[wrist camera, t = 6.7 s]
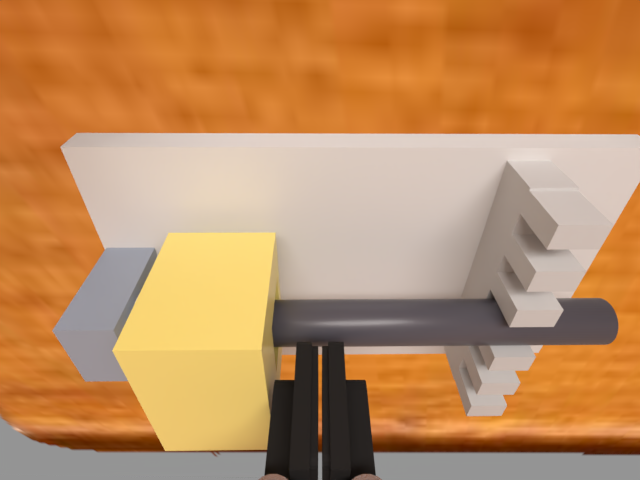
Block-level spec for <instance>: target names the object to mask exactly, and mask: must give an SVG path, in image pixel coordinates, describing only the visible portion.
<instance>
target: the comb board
mask: <svg viewBox="0 0 640 480" xmlns="http://www.w3.org/2000/svg"><path fill="white" fill-rule="evenodd" d="M60 148H61V150H62V152H63V154H64V157H65V159H66V161H67V164H68V166H69V168H70V171H71V173H72V175H73V178H74V180H75V182H76V184H77V187H78V189H79V191H80V194H81V196H82V198H83V201H84V203H85V205H86V208H87V210H88V212H89V214H90V217H91V219H92V221H93V224H94V226H95V228H96V231H97V233H98V235H99V237H100V240H101V242H102V244H103V247H104V249H105V251H104V252H103V254H102V255H101V257H100V258H99V260H98V261H97V263H96V264H95V266H94V267H93V269H92V271H91V272H90V274H89V275H88V277H87V278H86V280H85V281H84V283H83V284H82V286H81V287H80V289H79V290H78V292H77V293H76V295H75V297H74V298H73V300H72V301H71V303H70V304H69V306H68V307H67V309H66V310H65V312H64V313H63V315H62V316H61V318H60V319H59V321H58V323H57V324H56V326H55V327H54V329H53V330H52V331H53V333H54V334H55V336H56V337H57V339H58V340H59V342H60V343H61V345H62V346H63V348H64V350H65V351H66V353H67V354H68V356H69V357H70V359H71V360H72V362H73V363H74V365H75V366H76V368H77V369H78V371H79V373H80V374H81V376H82V377H83V379H84V380H85V382H89V381H128V380H127V378H126V376H125V374H124V372H123V370H122V368H121V367H120V365H119V363H118V361H117V359H116V357H115V355H114V353H113V351H112V350H113V348H114V346H115V344H116V342H117V340H118V338H119V336H120V333H121V331H122V329H123V327H124V325H125V323H126V321H127V319H128V317H129V315H130V313H131V310H132V308H133V306H134V304H135V302H136V300H137V298H138V296H139V294H140V292H141V290H142V287H143V285H144V283H145V281H146V279H147V277H148V275H149V273H150V271H151V269H152V267H153V264H154V262H155V260H156V258H157V256H158V254H159V252H160V250H161V248H162V246H163V244H164V242H165V239H166V237H167V235H168V233H276V244H277V257H278V270H279V283H280V296H281V300H275V302H274V312H273V322H272V335H273V344H274V347H282V355H296V344H297V342H312V346H318V355H322V346H328V342H344V354H446V356H447V359H448V362H449V366H450V369H451V372H452V375H453V378H454V380H455V382H456V385H457V388H458V391H459V394H460V398H461V401H462V404H463V407H464V410H465V413H466V416H501V415H502V414H503V412H504V410H505V409H506V407H507V404H506V401H505V399H504V397H503V395H514V393H515V392H516V390H517V388H518V387H519V385H520V381H519V379H518V376H517V374H516V372H515V371H528V370H529V368H530V366H531V365H532V363H533V361H534V359H535V358H536V356H535V354H534V353H539V351H540V349H541V348H542V346H543V345H607V344H610V343H612V342H613V341H614V340H615V338H616V336H617V333H618V318H617V315H616V313H615V310H614V309H613V307H612V306H611V305H610V303H608V302H607V301H606V300H604V299H602V298H571V297H572V295H573V294H574V292H575V290H576V289H577V287H578V285H579V284H580V282H581V280H582V278H583V277H584V275H585V273H586V272H587V270H588V268H589V267H590V265H591V263H592V262H593V260H594V258H595V256H596V255H597V253H598V251H599V250H600V248H601V246H602V245H603V243H604V241H605V240H606V238H607V236H608V234H609V233H610V231H611V229H612V228H613V226H614V224H615V223H616V221H617V219H618V218H619V216H620V214H621V213H622V211H623V209H624V207H625V206H626V204H627V202H628V201H629V199H630V197H631V196H632V194H633V192H634V191H635V189H636V187H637V185H638V184H639V182H640V136H639V135H638V134H311V133H76V134H75V135H74V136H73V137H71V138H70V139H69V140H68V141H67V142H65V143H64V144H63V145H62V146H61V147H60Z"/></svg>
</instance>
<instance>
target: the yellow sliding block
mask: <svg viewBox="0 0 640 480" xmlns="http://www.w3.org/2000/svg"><path fill="white" fill-rule="evenodd" d="M275 300H281V296H280V283H279V270H278V257H277V244H276V233H168V235H167V237H166V239H165V242H164V244H163V246H162V248H161V250H160V252H159V254H158V256H157V258H156V260H155V262H154V264H153V267H152V269H151V271H150V273H149V275H148V277H147V279H146V281H145V283H144V285H143V287H142V290H141V292H140V294H139V296H138V298H137V300H136V302H135V304H134V306H133V308H132V310H131V313H130V315H129V317H128V319H127V321H126V323H125V325H124V327H123V329H122V331H121V333H120V336H119V338H118V340H117V342H116V344H115V346H114V348H113V350H112V351H113V353H114V355H115V357H116V359H117V361H118V363H119V365H120V367H121V368H122V370H123V372H124V374H125V376H126V378H127V380H128V382H129V384H130V385H131V387H132V389H133V391H134V393H135V395H136V397H137V399H138V401H139V402H140V404H141V406H142V408H143V410H144V412H145V414H146V416H147V418H148V419H149V421H150V423H151V425H152V427H153V429H154V431H155V433H156V435H157V436H158V438H159V440H160V442H161V444H162V446H163V448H164V450H165V451H200V450H267V445H268V435H269V426H270V416H271V406H272V396H273V387H274V381H275V380H280V374H281V360H282V347H274V344H273V335H272V322H273V312H274V302H275Z"/></svg>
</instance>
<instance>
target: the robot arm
mask: <svg viewBox="0 0 640 480" xmlns="http://www.w3.org/2000/svg"><path fill="white" fill-rule="evenodd" d="M258 480H318V346H312V342H297V344H296V360H295V377H294V380H275V381H274V387H273V396H272V406H271V416H270V426H269V435H268V445H267V455H266V464H265V474H264V476H262V477H261V478H260V479H258ZM322 480H382V479H380V478H379V477H378V476H376V472H375V462H374V452H373V443H372V433H371V423H370V413H369V403H368V394H367V385H366V381H365V380H346V372H345V355H344V342H328V346H322Z"/></svg>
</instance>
